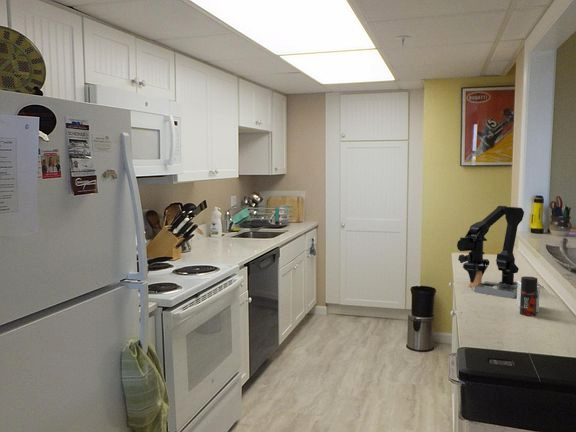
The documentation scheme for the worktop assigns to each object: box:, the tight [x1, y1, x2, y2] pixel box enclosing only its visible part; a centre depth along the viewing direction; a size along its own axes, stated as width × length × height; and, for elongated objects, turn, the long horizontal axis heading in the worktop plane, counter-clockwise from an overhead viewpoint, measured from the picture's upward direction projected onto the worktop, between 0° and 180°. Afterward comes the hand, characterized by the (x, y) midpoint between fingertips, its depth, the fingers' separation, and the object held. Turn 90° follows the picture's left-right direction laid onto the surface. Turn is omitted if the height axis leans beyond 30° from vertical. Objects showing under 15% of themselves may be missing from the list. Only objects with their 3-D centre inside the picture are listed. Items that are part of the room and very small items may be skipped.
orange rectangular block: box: [469, 271, 483, 289], centre depth 256 cm, size 4×4×8 cm
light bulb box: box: [516, 280, 541, 313], centre depth 217 cm, size 11×7×11 cm, turn 168°
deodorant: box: [519, 276, 538, 317], centre depth 208 cm, size 6×6×15 cm
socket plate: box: [474, 280, 517, 299], centre depth 245 cm, size 14×18×4 cm
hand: (475, 280), depth 256 cm, fingers open, 9 cm apart
